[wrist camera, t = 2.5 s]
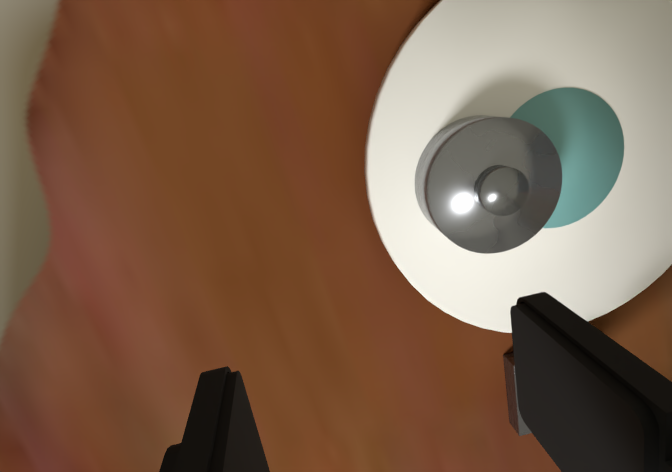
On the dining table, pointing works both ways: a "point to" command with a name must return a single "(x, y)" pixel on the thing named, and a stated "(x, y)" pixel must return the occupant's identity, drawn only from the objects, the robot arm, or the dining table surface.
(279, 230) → the dining table surface
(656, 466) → the robot arm
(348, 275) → the dining table surface
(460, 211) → the cover
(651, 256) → the white plate
